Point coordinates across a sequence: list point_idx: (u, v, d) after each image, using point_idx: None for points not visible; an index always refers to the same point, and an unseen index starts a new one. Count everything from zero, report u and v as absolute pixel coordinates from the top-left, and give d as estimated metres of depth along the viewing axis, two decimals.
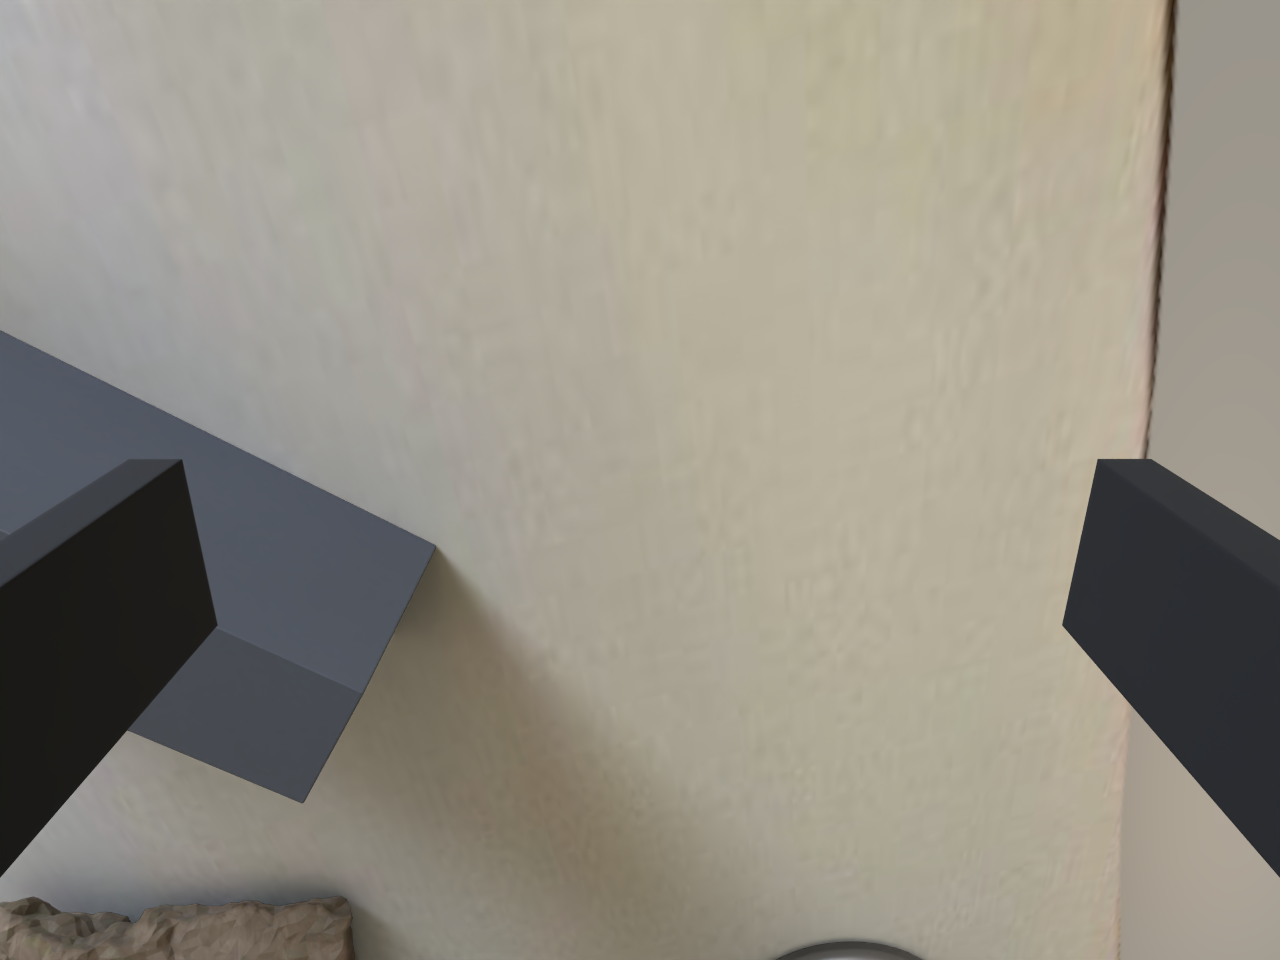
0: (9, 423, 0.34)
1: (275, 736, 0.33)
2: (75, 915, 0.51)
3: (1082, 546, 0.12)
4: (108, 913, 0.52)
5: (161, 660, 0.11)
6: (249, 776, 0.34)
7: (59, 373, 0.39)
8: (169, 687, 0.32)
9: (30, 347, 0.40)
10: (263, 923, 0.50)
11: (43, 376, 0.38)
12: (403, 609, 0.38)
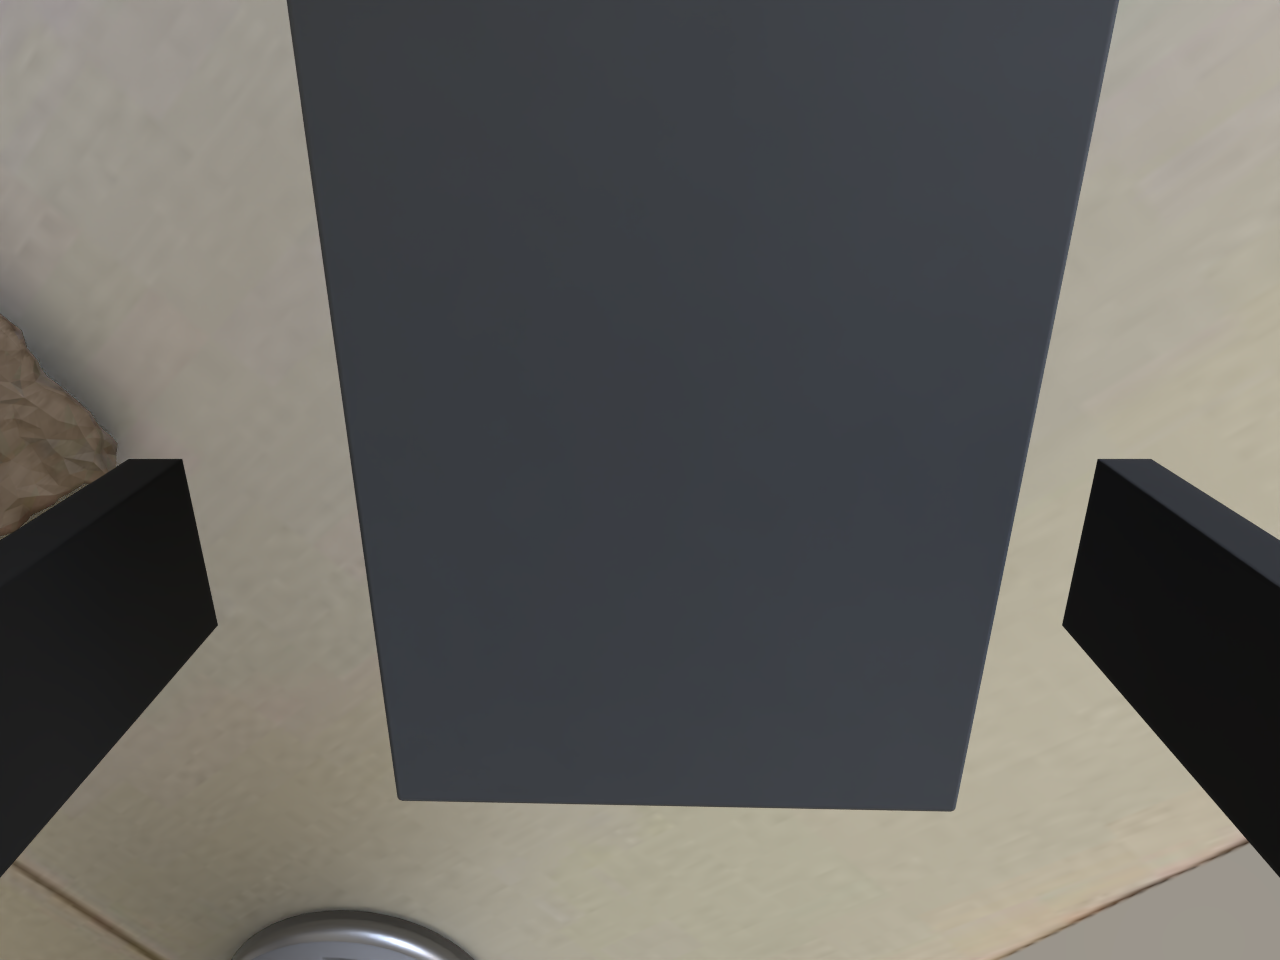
0: None
1: (629, 642, 0.09)
2: None
3: (1082, 546, 0.12)
4: None
5: (162, 660, 0.11)
6: (396, 623, 0.08)
7: None
8: (651, 196, 0.07)
9: None
10: (12, 373, 0.30)
11: None
12: None
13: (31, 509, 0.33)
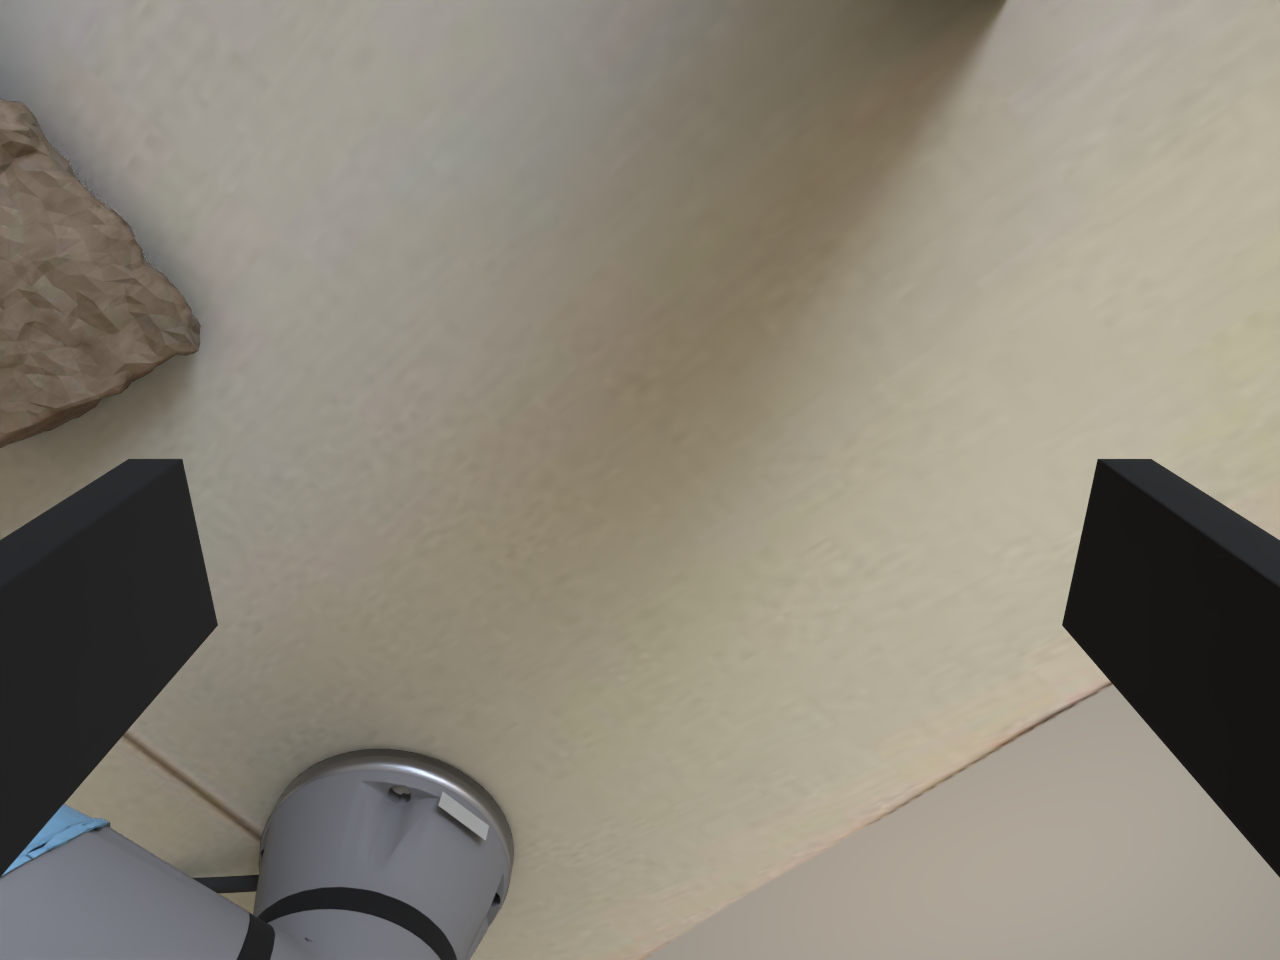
0: None
1: None
2: None
3: (1081, 546, 0.12)
4: None
5: (161, 660, 0.11)
6: None
7: None
8: None
9: None
10: (124, 258, 0.38)
11: None
12: None
13: (133, 375, 0.40)
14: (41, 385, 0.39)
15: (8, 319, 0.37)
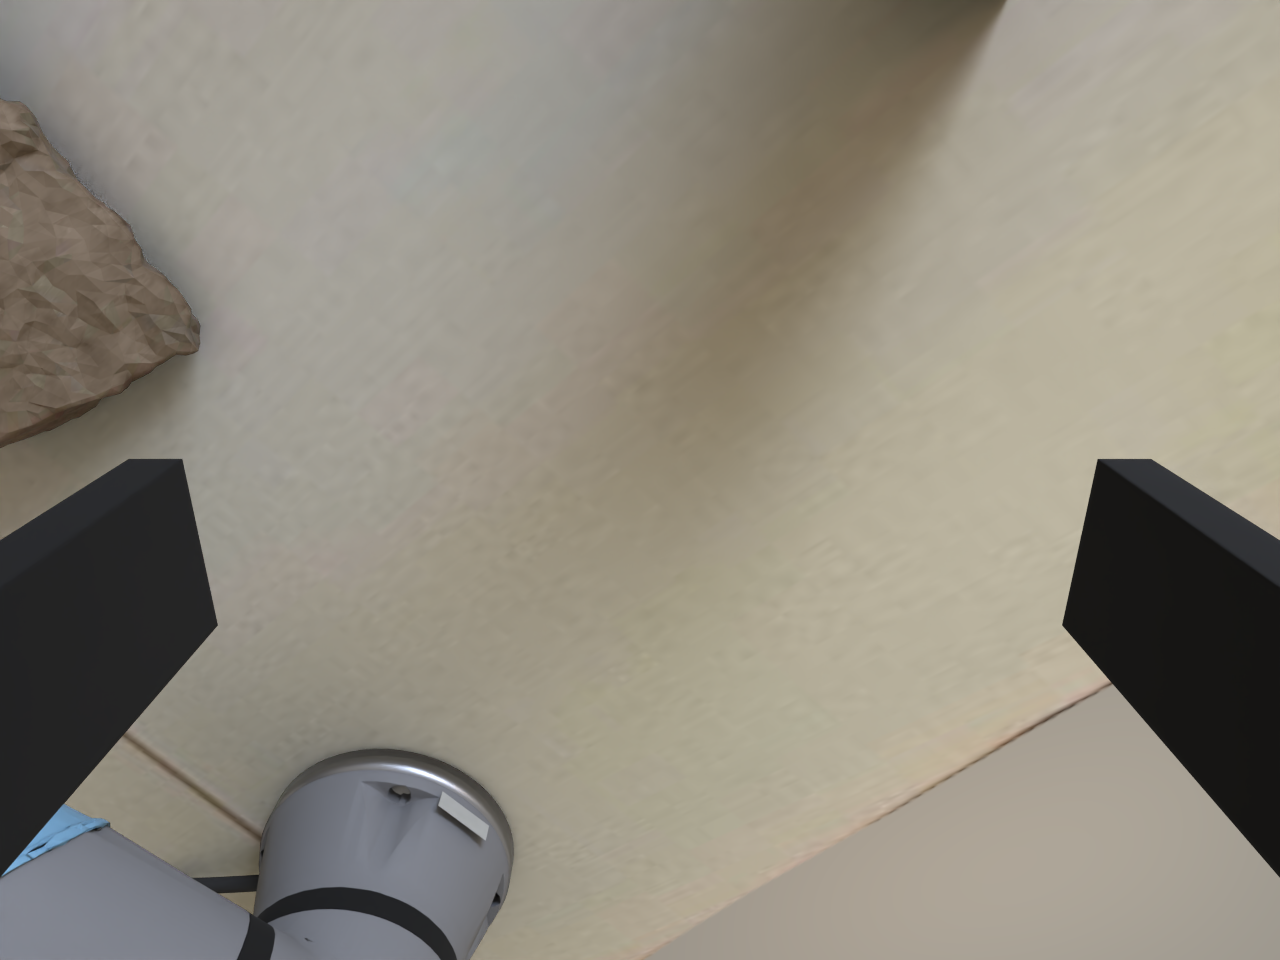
0: None
1: None
2: None
3: (1081, 546, 0.12)
4: None
5: (161, 660, 0.11)
6: None
7: None
8: None
9: None
10: (124, 258, 0.38)
11: None
12: None
13: (133, 375, 0.40)
14: (41, 385, 0.39)
15: (8, 319, 0.37)
